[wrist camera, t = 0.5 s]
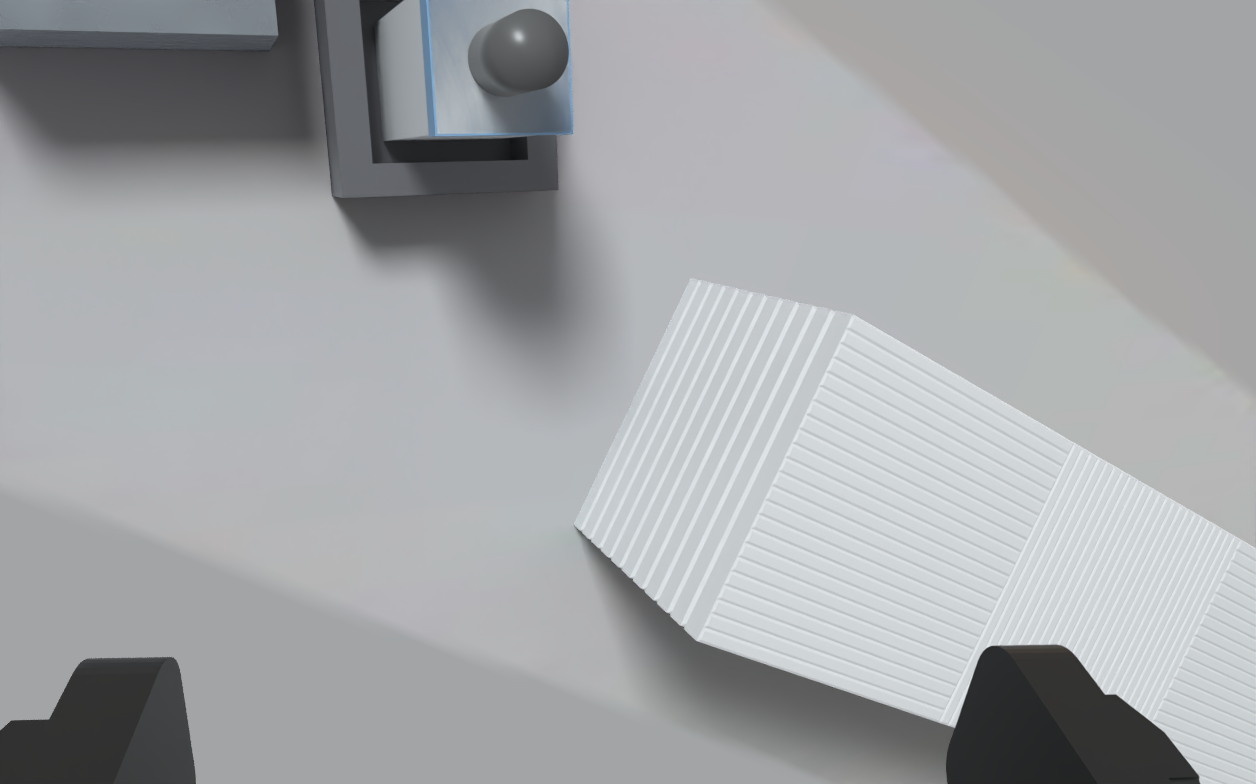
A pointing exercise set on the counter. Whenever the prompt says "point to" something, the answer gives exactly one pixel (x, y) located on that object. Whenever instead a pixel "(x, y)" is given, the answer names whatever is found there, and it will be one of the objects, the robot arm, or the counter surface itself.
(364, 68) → the holster
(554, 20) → the plug
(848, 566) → the stack of papers
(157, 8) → the port
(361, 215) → the counter surface
